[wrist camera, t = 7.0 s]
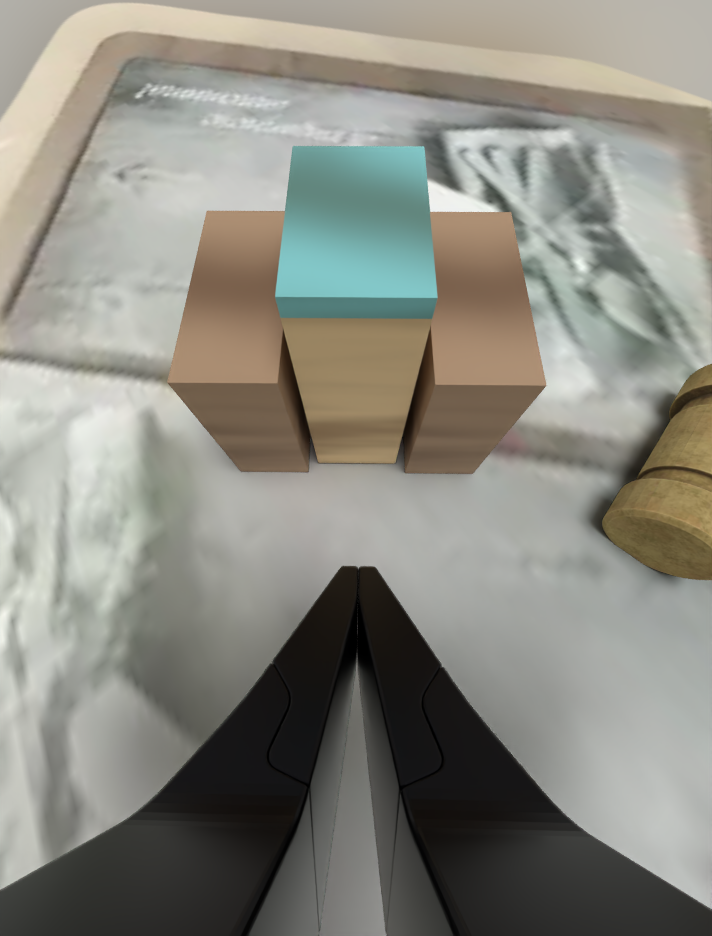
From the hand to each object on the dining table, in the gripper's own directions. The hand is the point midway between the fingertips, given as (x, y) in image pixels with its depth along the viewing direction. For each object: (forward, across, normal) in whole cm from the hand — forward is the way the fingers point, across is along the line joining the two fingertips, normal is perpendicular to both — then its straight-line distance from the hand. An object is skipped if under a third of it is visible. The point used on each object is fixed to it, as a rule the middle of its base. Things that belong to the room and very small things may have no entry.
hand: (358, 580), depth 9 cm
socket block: (+13, 0, -1) cm, 13 cm away
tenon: (+13, 0, -1) cm, 13 cm away
